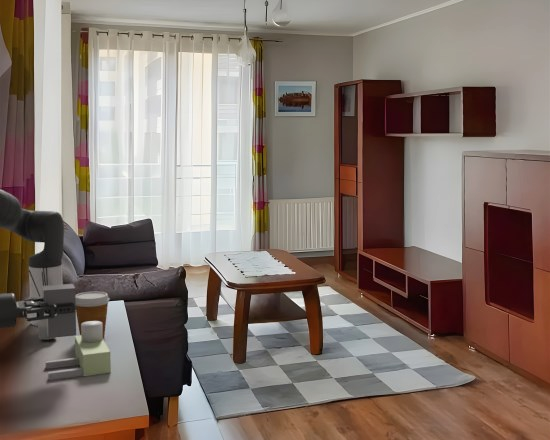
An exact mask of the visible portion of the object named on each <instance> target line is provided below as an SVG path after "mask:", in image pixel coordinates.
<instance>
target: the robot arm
mask: <svg viewBox="0 0 550 440" xmlns="http://www.w3.org/2000/svg"><path fill="white" fill-rule="evenodd" d="M0 229H4V230H7V231H11V232H12V233H14V234H16V235H18V236H19V237H21V238H22V239H23V240H26V241H29V242H31V243H44V244H43V245H44V246H43V250H42V251H40V252H37V253H35V254H32V255H30V256H29V257H28V275H29V276H28V279H29V280H28V282H29V296H25V297H23V300H18V301H16V299H17V298H16V294H15V293H13V292H10V293H9V292H8V293H7V292H5V293H0V329H6V328H14V327H16V326H17V318H19V319H20V318H22V319H23V318H24V319H25V320H26V322H30V324H31V326H36V327H38V325H39V323H40V322H41V321H42V320H43V319H49V318H54V317H55V316H56V315H57V314H67V313H74V312H75V305H74V303H64V304H47V303H44V302H43V300H42V286H43V280H42V272H43V268H44V273H45V281H46V286H47V279H48V286H49V285H63V284H64V283H63V282H64V280H63V278H64V277H63V256H64V251H65V250H64V245H65V243H64V238H65V237H64V236H65V223H64V219H63V216H62V215H61V213H60V212H58V211H54V210H53V211H52V210H29V209H25V208H22V204H21V202H20V200H19V199H18V198H17V197H15V196H14V195H13V194H11V193H9V192H7V191H5V190H3V189H0ZM46 266H47V279H46ZM29 270H30V272H31V275H32V277H33V279H34V282H35V284H36V287H37V289H38V292H39V294H40V297H39V294H38V292H37V290H36V287H35V285H34V282H33V280H32V277H31V275H30V272H29ZM43 279H44V274H43ZM44 286H45V282H44ZM47 310H49V313H48V312H47Z"/></svg>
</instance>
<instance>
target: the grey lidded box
mask: <svg viewBox="0 0 550 440" xmlns="http://www.w3.org/2000/svg"><path fill="white" fill-rule="evenodd" d="M76 295H77V294H76V287H75V285H74V284H73V283H67V284H64V283H63V285H49V286H42V300H43V302H44V303H47V304H64V303H74V305H75V312H74V313H67V314H57V315H56V316H55V317H54V318H49V319H46V322H47V335H48V338H53V339H55V338H65V337H72V336H73V337H75V336H77V314H76ZM47 312H48V313H49V310H47Z"/></svg>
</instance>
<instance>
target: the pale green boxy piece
mask: <svg viewBox="0 0 550 440" xmlns="http://www.w3.org/2000/svg"><path fill="white" fill-rule="evenodd" d="M74 350H75V351H74V352H75V354H74V356H75V357H71V358H63V359H55V360H46V361H45V370H49V369H50V370H52V369H56V368H57V369H58V368H65V367H73V366H79V367H74V368H68V369H60V370H54V371H47V378H48V380H49V381H53V380H59V379H60V380H61V379H67V378H74V377H75V378H76V377H81V376H83V377H87V376H88V377H89V376H95V375H96V376H97V375H103V374H104V375H105V374H110V373H112V372H111V371H112V370H111V369H112V368H111V366H112V365H111V362H112V361H111V350H110V349H109V347H108V345H107V343H106V342H105V340H104V338H103V327H102V322H100V321H88V322H84V323H82V324H81V335H80V334H79V335H78V334H76V336H74Z"/></svg>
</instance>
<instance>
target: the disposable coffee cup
mask: <svg viewBox="0 0 550 440" xmlns="http://www.w3.org/2000/svg"><path fill="white" fill-rule="evenodd" d="M75 295H76V321H77V325H78V331H79V335H81V324H82V323H84V322H88V321H100V322H102V327H103V339H105V333H106V332H105V331H106V325H107V323H106V322H107V314H108V307H109V305H108V304H109V302H110V297H109V295H108V293H107V292H104V291H86V292H80V293H77V294H75Z"/></svg>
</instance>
